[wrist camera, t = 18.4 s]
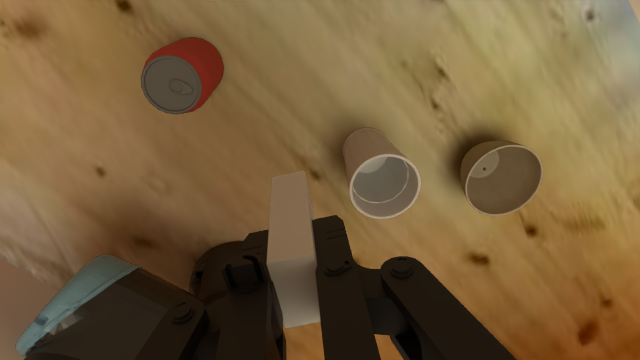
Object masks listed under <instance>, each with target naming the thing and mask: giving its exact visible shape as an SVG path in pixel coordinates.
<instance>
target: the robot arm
mask: <svg viewBox="0 0 640 360" xmlns="http://www.w3.org/2000/svg"><path fill="white" fill-rule="evenodd" d="M283 321H284V325H285V328H291V327H296V326H301V325H306V324H311V323H316V322H321V329H322V338H323V347H324V357H325V360H381V358H380V355H379V351H378V347H377V343H376V339H375V336H374V334H380V335H389V336H390V338H391V341H392V342H393V344H394V345H395V347H396V348H397V350H398V351H399V353H400V354H401V356H402V357H403V359H404V360H516V359H515V358H514V357H513V355H512V354H511V353H510V352H509V351H508V350H507V349H506V348H505V347H504V346H503V345H502V344H501V343H500V342H499V341H498V340H497V339H496V338H495V337H494V336H493V335H492V334H491V333H490V332H489V331H488V330H487V329H486V328H485V327H484V326H483V325H482V324H481V323H480V322H479V321H478V320H477V319H476V318H475V317H474V316H473V315H472V314H471V313H470V312H469V311H468V310H467V309H466V308H465V307H464V306H463V305H462V304H461V303H460V302H459V301H458V300H457V299H456V298H455V297H454V296H453V295H452V294H451V293H450V292H449V291H448V290H447V289H446V288H445V287H444V286H443V285H442V283H441V282H440V281H439V280H438V279H437V278H436V277H435V276H434V275H433V274H432V273H431V272H430V271H429V270H428V269H427V268H426V267H425V266H424V265H423V264H422V263H421V262H419V261H418V260H416V259H414V258H411V257H404V256H399V257H395V258H391V259H389V260H387V261H385V262H384V264H383V265H382V266H381V269H369V268H365V267H362V266H360V265H358V264H357V263H356V262H355V261H354V259H353V257H352V253H351V249H350V245H349V242H348V238H347V234H346V230H345V226H344V223H343V220H342V219H340V218H339V217H338V216H337V215H334V216H329V217H324V218H319V219H315V217H314V213H313V208H312V203H311V199H310V194H309V190H308V185H307V180H306V176H305V171H299V172H294V173H289V174H284V175H279V176H274V177H272V189H271V204H270V219H269V230H264V231H259V232H254V233H249V235H248V236H247V237H246V239H245V240H244V241H243V242H231V243H226V244H222V245H219V246H217V247H215V248H213V249H211V250H209V251H208V252H207V253H205V254H204V255H203V256H202V257H201V258H200V259H199V261H198V262H197V264H196V265H195V268H194V270H193V273H192V276H191V280H190V285H189V292H187V291H185V290H183V289H181V288H179V287H177V286H175V285H173V284H171V283H169V282H168V281H166V280H164V279H162V278H160V277H158V276H156V275H154V274H152V273H150V272H148V271H146V270H144V269H142V266H140V265H133V264H131V263H128V262H126V261H124V260H122V259H119V258H117V257H115V256H112V255H101V256H98V257H95V258H94V259H92V260H90V261H89V262H88V263H87V264H86V265H85V266H83V267H82V268H81V269H80V270H79V271H78V272H77V273H76V274H75V275H74V276H73V277H72V278H71V279H70V280H69V281H68V282H67V283H66V284H65V285H64V286H63V288H62V289H61V290H60V291H59V292H58V293H57V294H56V295H55V296H54V297H53V298H52V300H51V301H50V302H49V303H48V304H47V305H46V306H45V308H44V309H43V310H42V312H41V314H39V315H38V316H37V317H36V319H35V320H34V321H33V322H32V323H31V324H30V325H29V326H28V327H27V329H26V330H25V332H24V333H23V334H22V335H21V337H20V338H19V339H18V341H17V343H16V345H15V348H16V350H17V351H18V352H19V354H20V355H21V356H26V358H25V359H24V360H286V339H285V335H284V332H283Z"/></svg>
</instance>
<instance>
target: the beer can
mask: <svg viewBox="0 0 640 360" xmlns="http://www.w3.org/2000/svg"><path fill="white" fill-rule="evenodd" d="M223 69H224V65H223V61H222V58H221V56H220V54H219V52H218V51H217V49H216V48H215V47H214V46H213V45H211V44H210V43H209V42H207V41H205V40H203V39H200V38H193V37H191V38H185V39H182V40H179V41H177V42H175V43H172V44H170V45H168V46H165V47H163V48H161V49H159V50H157V51H156V52H154V53H152V55H151V56H150V57H149V58H148V60H147V61H146V63H145V66H144V69H143V72H142V76H141V87H142V89H143V92H144V95H145V97H146V98H147V99H148V101H149V102H150V103H151V104H152V105H153V106H155V107H156V108H157V109H158V110H161V111H163V112H165V113H170V114H182V113H188V112H192V111H194V110H196V109H198V108H200V107H201V106H202V105H203V104H204V103H205V101H206V100H207V99H208V98H209V96H210V95H211V94H212V92H213V91H214V90H215V88H216V87H217V86H218V84H219V83H220V81H221V79H222V76H223Z"/></svg>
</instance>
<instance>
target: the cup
mask: <svg viewBox="0 0 640 360" xmlns="http://www.w3.org/2000/svg"><path fill="white" fill-rule="evenodd" d="M343 157H344V159H345V165H346V171H347V177H348V186H349V193H350V198H351V201H352V203H353V205H354V206H355V208H356V209H357V210H358V211H359V212H361V213H362V214H364V215H366V216H368V217H371V218H375V219H388V218H392V217H395V216H398V215H400V214H402V213H403V212H405V211H406V210H407V209H409V208H410V207H411V206H412V204H413V203H414V202H415V200H416V199H417V197H418V194H419V191H420V186H421V180H420V175H419V172H418V170H417V168H416V167H415V165H414V164H413V163H412V162H411V161H410V160H409V159H407V158H406V157H405V156H404V155H403V154H402V153H401V152H400V151H399V150H398V149H397V148H396V147H395V146H394V145H393V144H392V143H390V142H389V141H388V140H387V139H386V138H385V136H384V135H383V134H382V133H381V132H380V131H378V130H376V129H373V128H361V129H358V130H356V131H354V132H352V133H351V134H350V135H349V136H348V137H347V139H346V140H345V142H344V145H343Z"/></svg>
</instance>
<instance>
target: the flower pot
mask: <svg viewBox="0 0 640 360" xmlns="http://www.w3.org/2000/svg"><path fill="white" fill-rule="evenodd" d="M484 168H485V169H484ZM460 178H461V184H462V188H463V191H464V194H465V196H466V198H467V200H468V202H469V203H470V205H471V206H472V207H473V208H474V209H475V210H477V211H478V212H480V213H482V214H486V215H490V216H500V215H505V214H509V213H512V212H514V211H516V210H518V209H520V208H521V207H523V206H524V205H525V204H527V203H528V202H529V201H530V200H531V199H532V198H533V196H534V195H535V194H536V192H537V191H538V189H539V187H540V185H541V182H542V178H543V165H542V162H541V160H540V158H539V156H538V155H537V154H536V153H535V152H534V151H533V150H531V149H530V148H528V147H525V146H523V145H520V144H517V143H513V142H508V141H488V142H483V143H480V144H478V145H476V146H474V147H472V148H471V149H470V150H469V151H468V152H467V153H466V154H465V156H464V158H463V160H462V164H461V170H460Z"/></svg>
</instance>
